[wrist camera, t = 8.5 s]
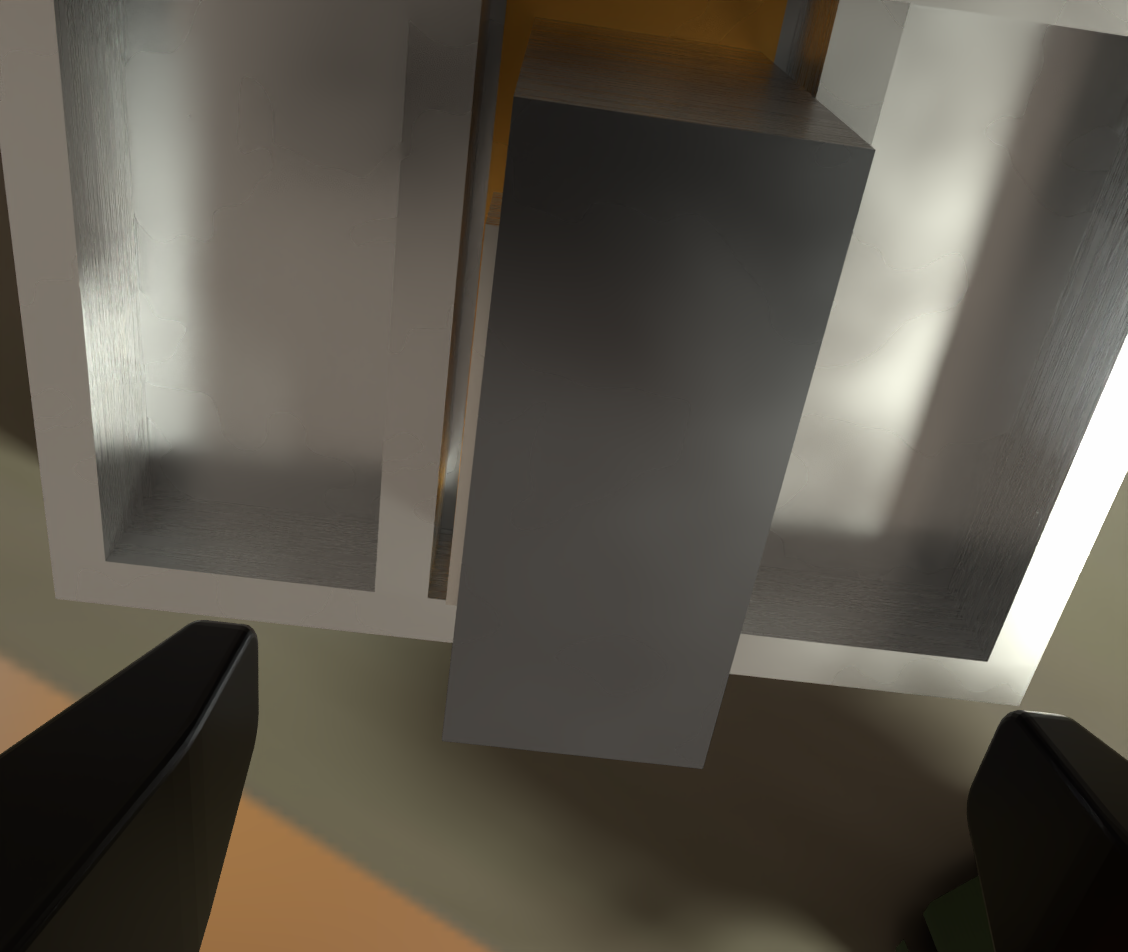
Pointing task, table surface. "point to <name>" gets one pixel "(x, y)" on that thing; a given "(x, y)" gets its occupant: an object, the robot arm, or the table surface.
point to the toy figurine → (958, 921)
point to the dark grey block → (636, 385)
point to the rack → (450, 292)
